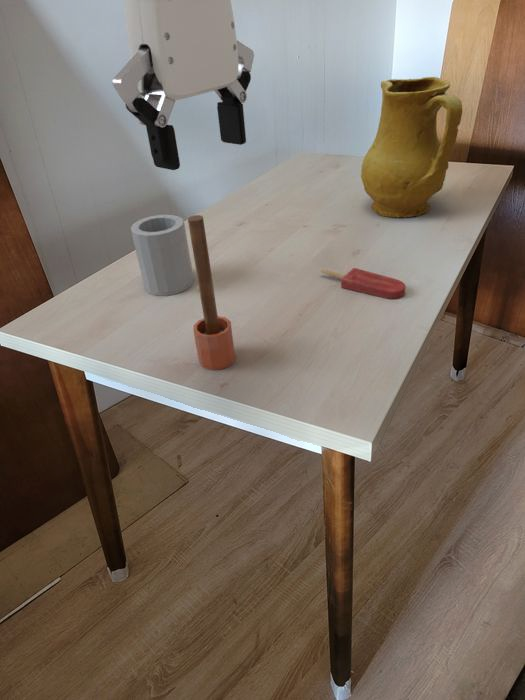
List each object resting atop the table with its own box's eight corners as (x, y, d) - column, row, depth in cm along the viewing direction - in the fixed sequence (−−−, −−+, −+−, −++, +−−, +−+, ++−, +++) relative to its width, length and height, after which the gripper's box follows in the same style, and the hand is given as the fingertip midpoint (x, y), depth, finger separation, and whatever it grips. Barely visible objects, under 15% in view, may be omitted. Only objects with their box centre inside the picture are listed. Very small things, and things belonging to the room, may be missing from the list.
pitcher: (424, 187, 120) (436, 67, 105) (457, 221, 106) (477, 87, 90) (351, 198, 120) (352, 78, 104) (375, 233, 105) (380, 101, 90)
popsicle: (327, 260, 90) (410, 280, 83) (327, 269, 91) (409, 290, 84) (314, 271, 88) (398, 293, 80) (314, 280, 89) (397, 303, 81)
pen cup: (192, 365, 72) (186, 332, 68) (210, 345, 75) (205, 313, 72) (224, 373, 70) (219, 339, 66) (241, 352, 73) (237, 319, 70)
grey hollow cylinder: (135, 291, 90) (120, 232, 84) (162, 269, 97) (150, 212, 90) (176, 299, 87) (164, 237, 81) (202, 275, 93) (193, 217, 87)
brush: (204, 359, 72) (180, 221, 60) (213, 349, 74) (191, 212, 62) (220, 363, 71) (199, 223, 59) (229, 352, 73) (210, 214, 61)
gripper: (212, -52, 51) (231, 131, 61) (60, -46, 41) (112, 173, 51) (271, -60, 47) (282, 138, 57) (118, -57, 37) (163, 185, 47)
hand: (202, 154), depth 54 cm, fingers open, 9 cm apart
